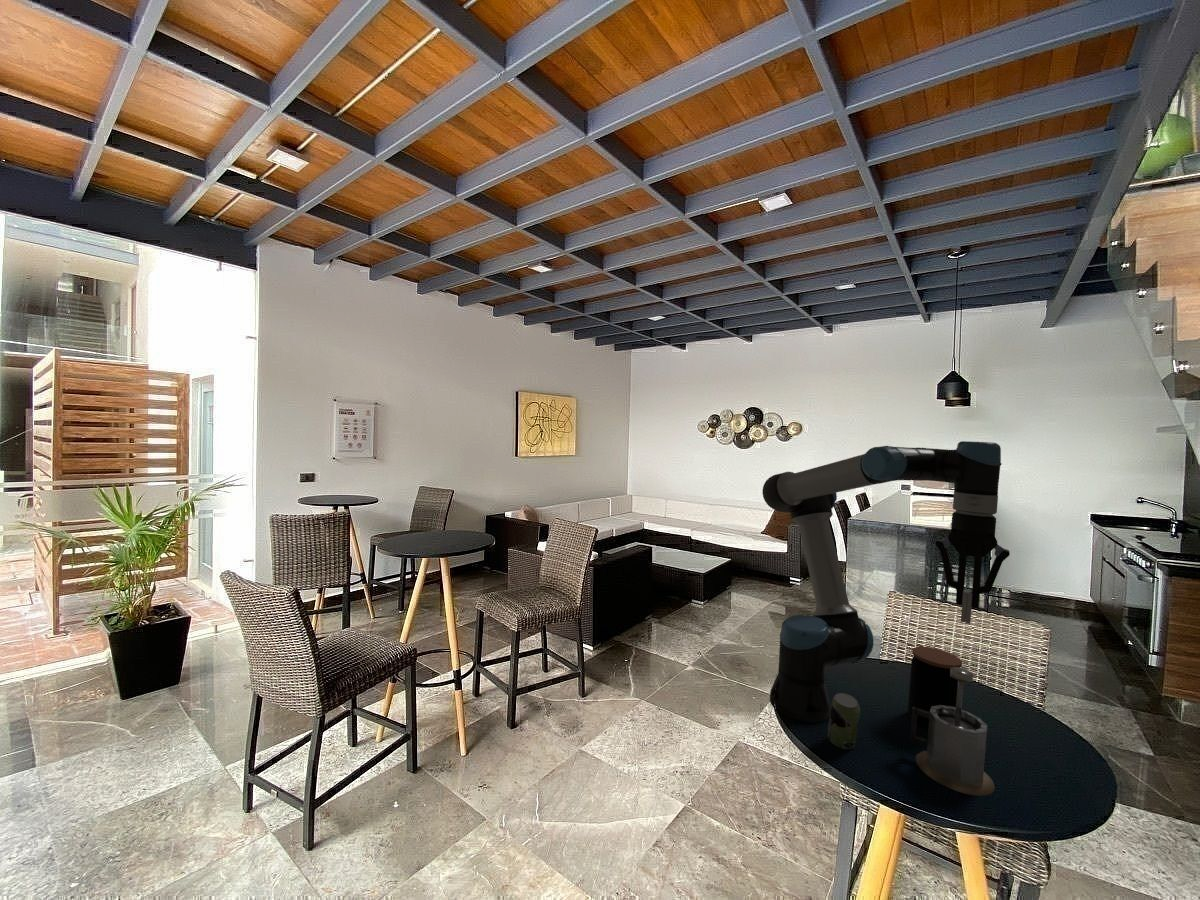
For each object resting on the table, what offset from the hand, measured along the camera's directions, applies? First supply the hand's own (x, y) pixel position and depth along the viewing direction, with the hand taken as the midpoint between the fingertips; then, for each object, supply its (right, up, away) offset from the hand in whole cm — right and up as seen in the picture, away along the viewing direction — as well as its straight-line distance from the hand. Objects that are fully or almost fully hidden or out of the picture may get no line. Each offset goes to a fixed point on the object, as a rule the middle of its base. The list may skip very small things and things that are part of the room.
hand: (965, 620), depth 105 cm
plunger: (-1, -24, +1) cm, 24 cm away
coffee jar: (+7, -34, +21) cm, 40 cm away
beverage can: (-22, -33, +10) cm, 41 cm away
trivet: (-2, -34, +1) cm, 34 cm away
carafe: (-3, -34, +2) cm, 34 cm away
